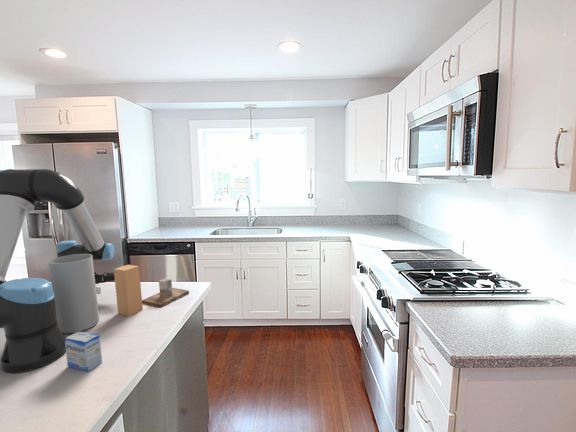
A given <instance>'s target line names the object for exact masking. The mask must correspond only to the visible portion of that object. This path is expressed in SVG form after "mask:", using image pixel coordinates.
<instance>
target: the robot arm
mask: <svg viewBox="0 0 576 432" xmlns="http://www.w3.org/2000/svg"><path fill="white" fill-rule="evenodd" d="M84 202H85V196H84V194H83V191H82V190H81V189H80V188H79V187H78V185H77V184H76V183H75V182H73V181H72V180H71V179H70V178H69V177H67V176H66V175H64V174H62V173H61V172H58V171H56V170H53V169H49V168H37V169H34V168H33V169H32V168H31V169H13V168H8V169H1V170H0V329H3V331H4V335H5V342H4V346H3V351H2V354H1V357H0V366H1V370H2V371H3V372H4V373H9V374H11V373H12V374H14V373H15V374H16V373H18V374H19V373H23V372H28V371H33V370H35V369H38V368H41V367H44V366H46V365H49V364H51V363H52V362H56V360H58V359H60V358H61V357H62V356H63V355H64V354H66V345H65V338H66V336H65V335H64V333H62V332H61V330H60V329H59V327H58V325H57V317H56V308H55V300H54V296H55V295H54V292H53V288H52V284H51V281H49V280H48V279H45V278H39V277H23V278H16V279H11V280H8V281H7V280H6V276H7V272H8V269H9V266H10V264H11V261H12V258H13V254H14V252H15V248H16V246H17V243H18V239H19V236H20V233H21V231H22V229H23V225H24V222H25V219H26V217H27V214H28V213H31V212H33V211H34V209H35V206H36V204H37V203H51V204H53V205H54V207H55V208H56V209H58V210H61V212H62V213H63V215H64V216H65V219H66V220H67V221H68V223H69V224H70V225H69V226H71V228H72V230H73V231H74V232H75V235H76V236H77V237H78V239H79V241H80V242H81V244H78V242H77V240H72V239H70V240H69V239H68V240H62V241H59V242H57V243H56V247H55V249H56V258H58V257H62V256H68V255H75V254H91V255H92V257H93V262H97V261H108V260H112V259H113V258H114V256H115V246H114V244H113V243H109V242H105V241H104V239H103V237H102V235H101V233H100V231H99V229H98V227H97V226H96V224H95V222H94V220H93V218H92V216H91V214H90V212H89V211H88V209H87V206H86V204H85V203H84ZM94 275H95V285H96V294H97V295H101V294H102V288H101V286H99V285H98V284H103V283H104V284H105V283H107V282H112V281H114V282H115V276H114V272H107V271H106V272H103V274H99V273H96V272H95V271H94Z"/></svg>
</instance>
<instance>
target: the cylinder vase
mask: <svg viewBox="0 0 576 432" xmlns="http://www.w3.org/2000/svg"><path fill="white" fill-rule="evenodd" d="M48 268H49V269H48V270H49V276H50V283H51V284H52V288H53V292H54V295H55V296H54V300H55V308H56V317H57V325H58V327H59V329H60V330H61V332H62V334H63V335H64V334H67V335H69V334H70V335H71V334H75V333H77V332H84V331H86V330H89V329H91V328H92V327H94V326H96V325H97V324H98V323H99V321H100V314H99V306H98V305H99V304H98V303H99V302H98V294H96V286H97V284H95V275H94V272H95V268H94V261H93V257H92V255H91V254H75V255H68V256H62V257H58V258H57V257H54V258H52V259H50V260H49V261H48Z"/></svg>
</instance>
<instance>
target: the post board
mask: <svg viewBox="0 0 576 432" xmlns="http://www.w3.org/2000/svg"><path fill="white" fill-rule="evenodd" d="M172 284H173V283H172V279H171V278H166V277H165V278H162V279H159V280H158V285H159V286H158V287H159V288H158V289H159V292H158V293H156V294H153V295H151V296H148V297H146V298H143V299H142V304H144V305H150V306H154V307H158V308H162V307H164V306H166V305H168V304H170V303H172V302H174V301H176V300H178V299H180V298H182V297H184V296H186V295H189V294H190V291H189V289H188V290H186V289H182V288H177V287H176V288H175V287H173V285H172Z"/></svg>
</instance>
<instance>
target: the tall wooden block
mask: <svg viewBox="0 0 576 432" xmlns="http://www.w3.org/2000/svg"><path fill="white" fill-rule="evenodd" d="M113 273H114V276H115V280H114V286H115V297H116V304H117V314H120V315H124V316H127V317H130V316H132V315H134V314H136V313H138V312H140V311H143V303H142V300H143V297H142V286H141V277H140V276H141V274H140V273H141V272H140V266H138V265H132V264H126V265H122V266H119V267H117V268H113Z"/></svg>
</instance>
